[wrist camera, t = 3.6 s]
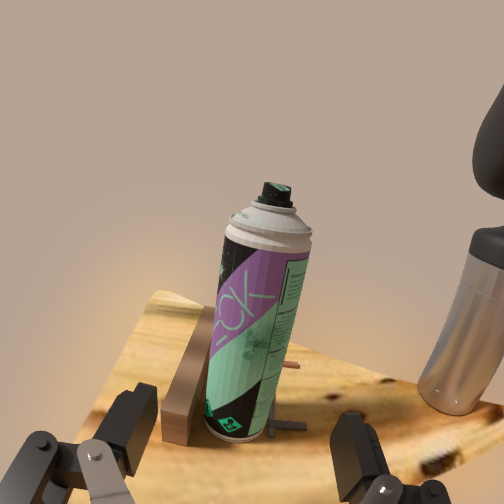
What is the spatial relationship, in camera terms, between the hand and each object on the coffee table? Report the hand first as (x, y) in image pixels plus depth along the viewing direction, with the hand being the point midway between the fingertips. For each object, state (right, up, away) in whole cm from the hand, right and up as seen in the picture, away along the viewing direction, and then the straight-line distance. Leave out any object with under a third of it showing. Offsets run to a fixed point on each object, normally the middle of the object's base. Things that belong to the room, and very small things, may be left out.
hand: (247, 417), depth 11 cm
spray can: (-1, -8, +12) cm, 15 cm away
